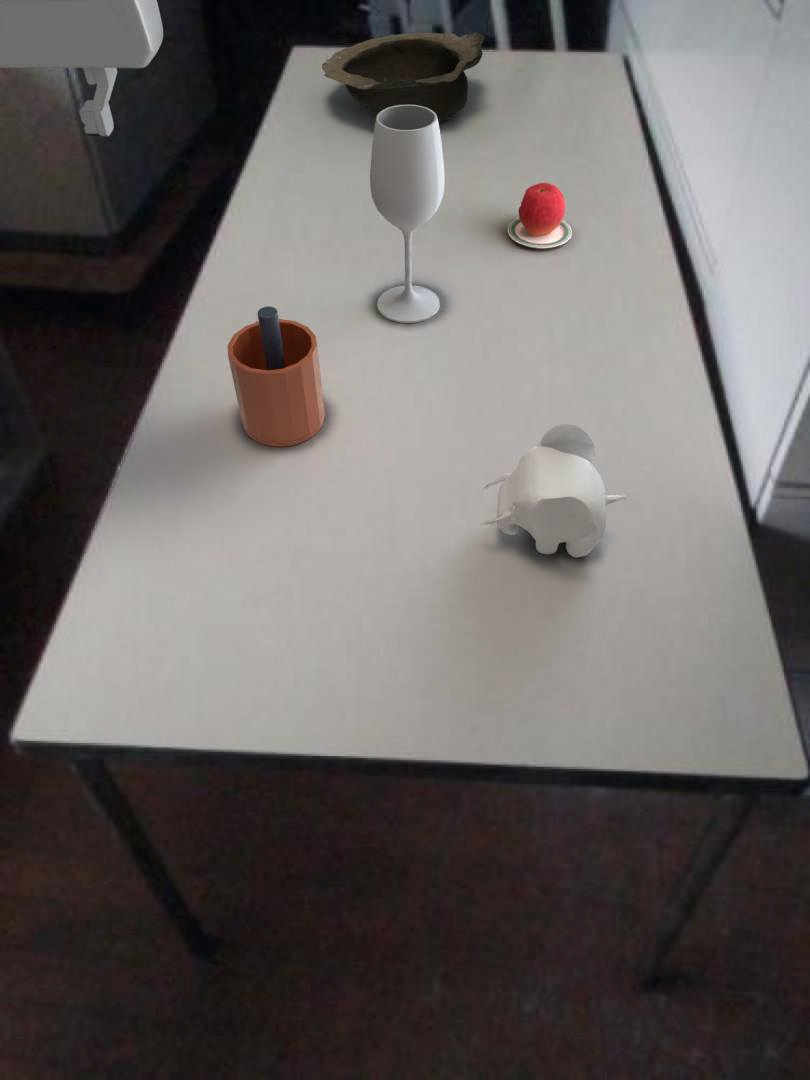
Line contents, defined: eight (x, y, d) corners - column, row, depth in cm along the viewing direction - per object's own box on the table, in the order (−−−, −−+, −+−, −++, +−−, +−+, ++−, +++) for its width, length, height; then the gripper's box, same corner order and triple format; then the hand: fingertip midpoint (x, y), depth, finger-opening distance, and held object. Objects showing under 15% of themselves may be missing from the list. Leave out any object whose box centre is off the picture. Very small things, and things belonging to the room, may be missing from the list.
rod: (279, 422, 84) (262, 320, 75) (271, 412, 85) (253, 310, 76) (295, 416, 85) (280, 313, 76) (287, 406, 86) (272, 303, 77)
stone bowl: (491, 137, 125) (490, 70, 118) (322, 151, 127) (312, 86, 120) (482, 67, 141) (481, 4, 134) (333, 81, 143) (324, 20, 136)
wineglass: (401, 279, 102) (397, 94, 86) (454, 300, 99) (461, 113, 83) (362, 309, 98) (351, 122, 82) (416, 332, 95) (416, 142, 79)
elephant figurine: (482, 487, 79) (488, 413, 72) (613, 497, 78) (632, 423, 71) (475, 566, 73) (481, 494, 66) (618, 578, 72) (638, 507, 65)
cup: (264, 458, 82) (250, 384, 75) (229, 410, 87) (213, 337, 80) (339, 427, 85) (332, 353, 78) (301, 382, 89) (291, 309, 82)
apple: (523, 256, 105) (528, 206, 100) (497, 224, 110) (501, 175, 105) (582, 244, 106) (590, 194, 101) (554, 213, 111) (560, 164, 106)
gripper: (-262, -101, 46) (-136, 152, 57) (109, -103, 46) (167, 154, 56) (-203, -130, 50) (-95, 111, 61) (138, -132, 50) (187, 113, 60)
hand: (33, 132), depth 58 cm, fingers open, 8 cm apart
